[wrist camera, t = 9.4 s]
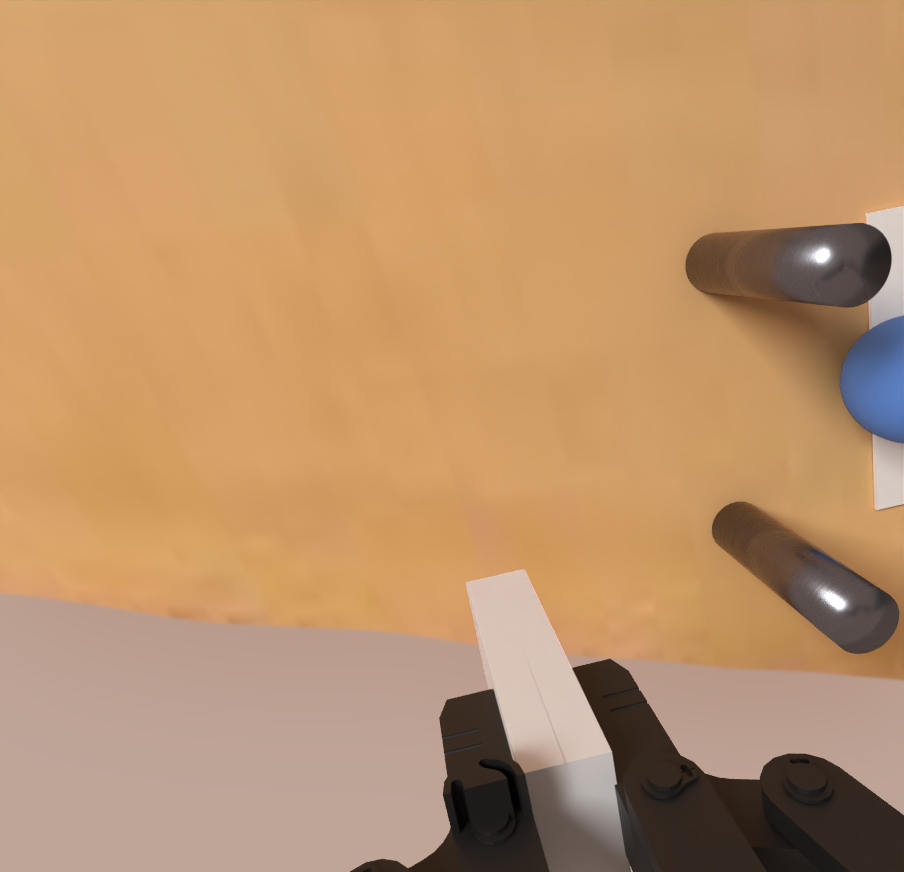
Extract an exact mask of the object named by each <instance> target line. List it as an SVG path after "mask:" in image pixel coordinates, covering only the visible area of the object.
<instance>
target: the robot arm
mask: <svg viewBox="0 0 904 872" xmlns="http://www.w3.org/2000/svg"><path fill="white" fill-rule="evenodd" d="M466 586H467V591H468V596H469V600H470V605H471V610H472V615H473V619H474V624H475V629H476V634H477V638H478V643H479V648H480V652H481V657H482V662H483V666H484V672H485V676H486V680H487V684H488V688H489V690H486V691H481V692H477V693H474V694H469V695H465V696H461V697H457V698H453V699H448V700H447V701H446V703H445V706H444V708H443V711H442V713H441V716H440V718H439V719H440V726H441V733H442V739H443V747H444V754H445V762H446V769H447V775H448V777H447V779H446V780H445V782H444V790H443V797H444V801H445V805H446V809H447V813H448V818H449V821H450V826H451V828H450V831H449V834H448V835H447V837H446V839H445V840H444V842H443V843H442V844H441V846H439V848H438V849H437V850H436V851H435V852H434V853H432V854H431V855H429V856H428V857H427V858H425V859H424V860H422V861H420V862H419V863H417V864H415V865H414V866H412V867H410V868H406V867H405V866H403V865H402V864H400V863H399V862H397V861H393V860H386V859H380V860H375V861H370V862H366V863H364V864H362V865H361V866H359V867H357V868H355V869H354V870H352V871H350V872H631V869H630V866H631V868H632V871H633V872H904V815H903V814H901V813H900V812H899V811H897V810H896V809H895V808H893V807H892V806H891V805H889V804H888V803H887V802H885V801H884V800H882V799H881V798H880V797H879V796H877V795H876V794H875V793H873V792H872V791H871V790H869V789H867V787H865V786H864V785H862V784H861V783H860V782H858V781H857V780H856V779H854V778H853V777H852V776H850V775H849V774H848V773H846V772H845V771H844V770H842V769H841V768H840V767H838V766H836V765H834V764H833V763H831V762H829V761H827V760H825V759H823V758H819V757H816V756H812V755H808V754H786V755H782V756H779V757H775V758H773V759H772V760H771V761H769V762H768V763H767V764H766V765H765V766H764V767H763V770H762V773H761V776H760V780H748V779H746V780H745V779H726V778H718V777H715V776H712V775H708V774H705V773H704V772H703V771H702V770H701V769H700V768H699V767H698V766H697V765H696V764H695V763H694V762H692V761H690V760H688V759H686V758H685V757H683V756H681V755H680V754H679V753H678V751H677V749H676V748H675V746H674V745H673V743H672V741H671V740H670V738H669V736H668V735H667V733H666V731H665V730H664V728H663V727H662V725H661V723H660V722H659V720H658V718H657V717H656V715H655V713H654V712H653V710H652V709H651V707H650V705H649V704H647V700H646V699H645V697H644V696H643V694H642V692H641V691H639V688H638V686H637V684H636V683H635V681H634V679H633V678H632V676H631V674H630V673H629V671H628V670H626V669H625V668H623V667H622V666H620V665H619V664H617V663H616V662H614V661H613V660H611V659H607V660H603V661H599V662H595V663H591V664H586V665H582V666H578V667H574V668H571V665H570V663H569V661H568V659H567V657H566V655H565V653H564V651H563V649H562V646H561V644H560V642H559V640H558V638H557V636H556V634H555V632H554V630H553V628H552V626H551V624H550V621H549V619H548V617H547V615H546V613H545V611H544V609H543V607H542V605H541V603H540V601H539V599H538V596H537V594H536V592H535V590H534V588H533V586H532V584H531V582H530V580H529V578H528V576H527V574H526V571H525V569H521V570H517V571H513V572H508V573H504V574H500V575H495V576H491V577H487V578H483V579H478V580H474V581H470V582H466Z"/></svg>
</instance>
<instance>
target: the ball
mask: <svg viewBox="0 0 904 872" xmlns="http://www.w3.org/2000/svg"><path fill="white" fill-rule="evenodd" d="M840 389H841V394H842V398H843V401H844V404H845V406H846V408H847V409H848V411H849V412H850V414H851V415H852V417H853V418H854V419H855V420H856V421H857V422H858V423H859V424H860V425H861V426H862V427H863V428H865V429H866V430H868V431H869V432H871V433H872V434H874V435H876V436H878V437H881V438H883V439H886V440H889V441H893V442H897V443H904V315H903V316H899V317H895V318H892V319H889V320H887V321H884V322H882V323H880V324H878V325H877V326H875V327H873V328H872V329H870V330H869V331H867V332H866V333H865V334H863V335H862V336H861V337H860V338H859V339H858V340H857V341H856V342H855V344H854V345H853V346H852V348H851V349H850V351H849V352H848V354H847V356H846V358H845V360H844V363H843V365H842V369H841V375H840Z"/></svg>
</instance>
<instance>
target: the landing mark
mask: <svg viewBox="0 0 904 872" xmlns="http://www.w3.org/2000/svg"><path fill="white" fill-rule="evenodd" d="M866 224H868V225H871V226H873V227H875V228H877V229H878V230H880V231H881V232H882V233H883V234H884V236H885V237H886V239H887V241H888V242H889V245H890V248H891V254H892V264H891V269H890V273H889V276H888V278H887V280H886V282H885V284H884V286H883V287H882V289H881V290H880V291H879V292H878V293H877V294H876V295H875V296H874V297H873V298H872V299H870V300H869V301H868V306H869V330H870V329H872V328H873V327H875V326H877V325H878V324H880V323H882V322H884V321H887V320H889V319H892V318H895V317H899V316H903V315H904V206H900V207H895V208H890V209H885V210H880V211H876V212H871V213H866ZM872 439H873V472H874V506H875V509H876V510H880V509H884V508H889V507H893V506H897V505H901V504H904V443H897V442H893V441H889V440H886V439H883V438H881V437H878V436H876V435H874V434H872Z"/></svg>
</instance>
